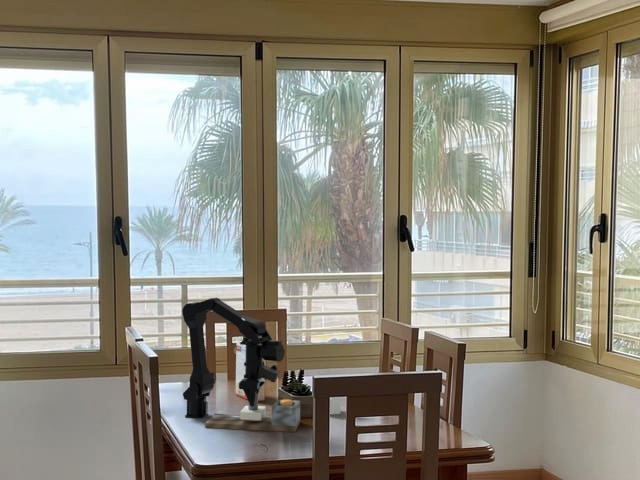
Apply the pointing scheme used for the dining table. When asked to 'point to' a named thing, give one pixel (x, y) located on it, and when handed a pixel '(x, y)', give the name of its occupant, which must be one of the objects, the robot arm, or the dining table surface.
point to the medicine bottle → (335, 406)
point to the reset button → (286, 402)
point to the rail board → (279, 421)
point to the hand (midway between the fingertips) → (253, 405)
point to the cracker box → (241, 371)
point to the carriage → (253, 411)
